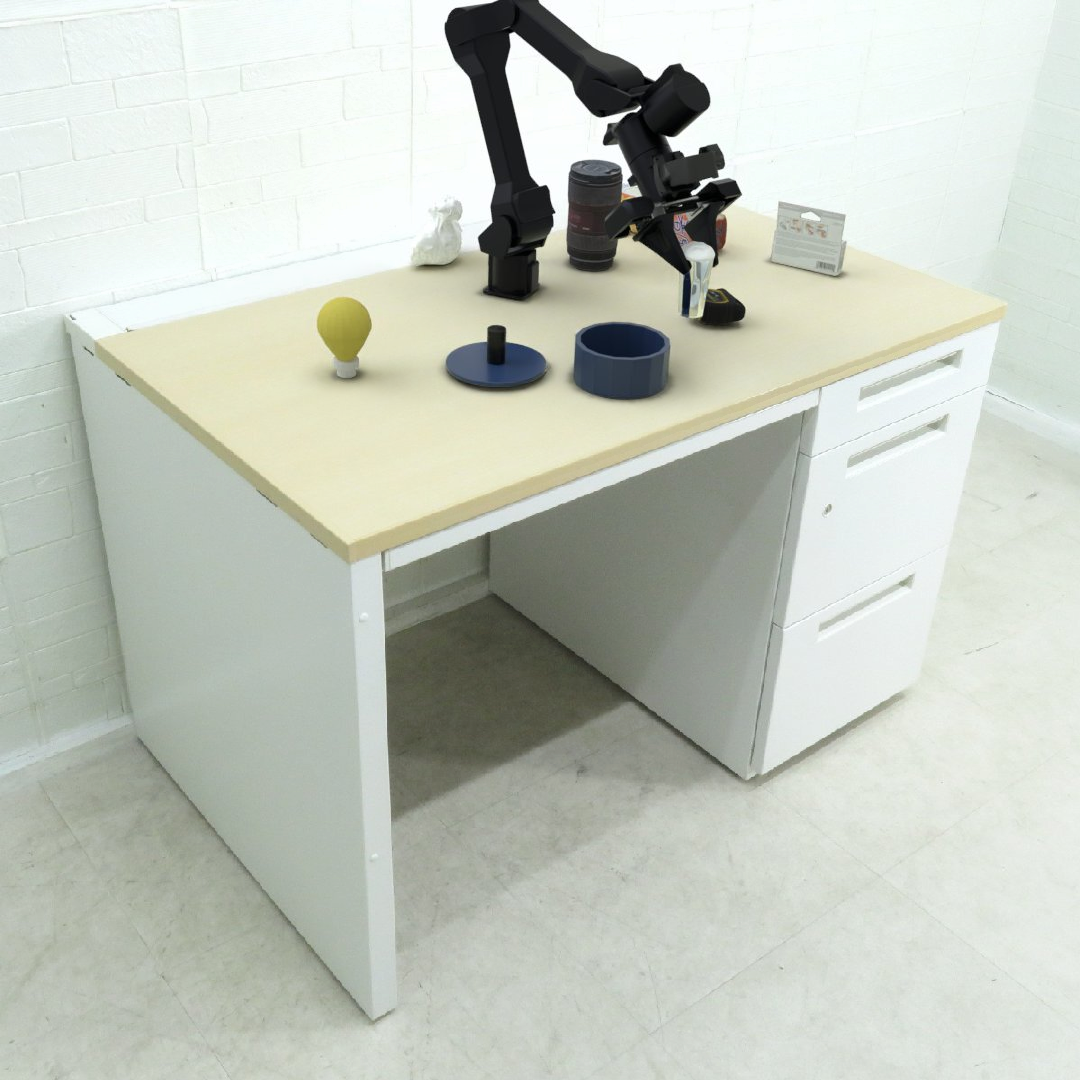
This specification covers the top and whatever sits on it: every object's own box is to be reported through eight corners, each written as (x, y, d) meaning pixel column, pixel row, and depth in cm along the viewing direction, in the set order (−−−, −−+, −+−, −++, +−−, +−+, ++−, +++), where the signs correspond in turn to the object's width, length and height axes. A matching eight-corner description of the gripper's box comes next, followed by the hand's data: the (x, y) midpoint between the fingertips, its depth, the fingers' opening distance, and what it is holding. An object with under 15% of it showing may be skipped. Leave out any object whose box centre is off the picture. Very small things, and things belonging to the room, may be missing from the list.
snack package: (728, 250, 206) (733, 208, 203) (703, 260, 202) (708, 217, 199) (625, 218, 218) (628, 178, 215) (600, 226, 214) (602, 186, 210)
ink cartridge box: (775, 257, 204) (784, 196, 199) (842, 273, 199) (852, 210, 194) (769, 262, 202) (777, 200, 197) (836, 277, 198) (846, 214, 192)
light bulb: (350, 390, 158) (346, 313, 153) (308, 376, 161) (303, 300, 156) (384, 371, 163) (381, 296, 158) (342, 358, 166) (339, 284, 161)
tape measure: (745, 327, 180) (749, 302, 178) (700, 332, 178) (703, 306, 176) (724, 309, 185) (727, 284, 183) (680, 313, 183) (683, 288, 181)
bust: (420, 287, 194) (460, 237, 187) (385, 250, 194) (424, 199, 187) (459, 263, 203) (499, 215, 196) (425, 228, 203) (464, 178, 196)
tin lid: (427, 378, 162) (427, 336, 159) (473, 342, 172) (473, 302, 169) (520, 399, 158) (521, 356, 155) (561, 361, 168) (563, 320, 165)
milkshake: (664, 306, 166) (670, 231, 161) (705, 306, 167) (713, 231, 161) (669, 320, 162) (676, 244, 157) (711, 320, 163) (719, 244, 157)
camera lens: (556, 267, 197) (560, 169, 189) (575, 251, 203) (580, 156, 196) (606, 276, 195) (612, 177, 187) (624, 260, 201) (631, 163, 193)
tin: (558, 387, 161) (560, 347, 158) (594, 353, 170) (596, 315, 168) (647, 406, 157) (651, 366, 154) (678, 370, 167) (682, 332, 164)
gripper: (626, 132, 150) (681, 253, 149) (741, 112, 160) (793, 225, 158) (580, 182, 159) (631, 295, 158) (690, 160, 169) (740, 267, 168)
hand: (701, 269), depth 160 cm, fingers closed on milkshake, 4 cm apart
